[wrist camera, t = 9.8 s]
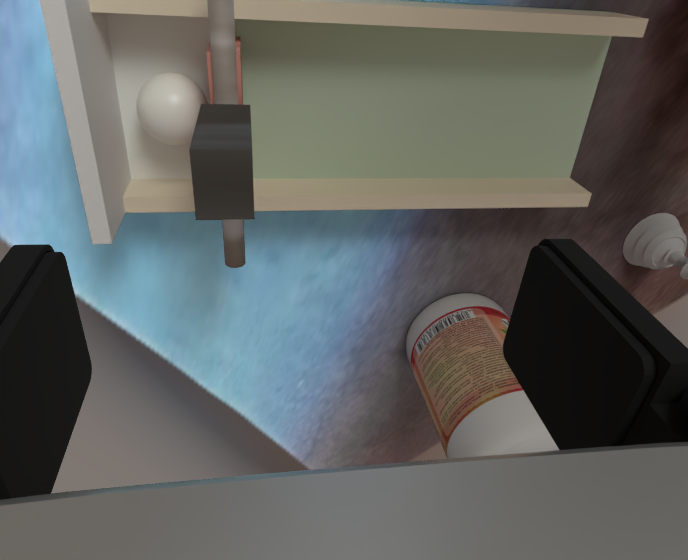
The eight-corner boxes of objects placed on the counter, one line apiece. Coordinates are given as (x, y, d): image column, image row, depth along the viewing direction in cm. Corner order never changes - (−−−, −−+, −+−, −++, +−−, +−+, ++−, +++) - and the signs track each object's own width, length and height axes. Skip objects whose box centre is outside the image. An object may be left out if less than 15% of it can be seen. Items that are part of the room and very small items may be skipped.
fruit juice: (415, 287, 44) (611, 678, 21) (519, 291, 46) (804, 652, 23) (393, 373, 49) (532, 770, 25) (488, 373, 51) (697, 741, 27)
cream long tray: (85, -17, 29) (38, -6, 23) (609, 11, 35) (697, 28, 28) (120, 187, 36) (92, 244, 29) (559, 185, 41) (621, 232, 34)
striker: (198, -52, 28) (170, -49, 17) (244, -49, 28) (245, -43, 17) (218, 222, 37) (208, 342, 26) (253, 221, 37) (258, 340, 26)
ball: (219, 70, 31) (157, 63, 32) (183, 84, 28) (115, 75, 28) (223, 138, 33) (165, 130, 34) (190, 158, 30) (127, 148, 30)
